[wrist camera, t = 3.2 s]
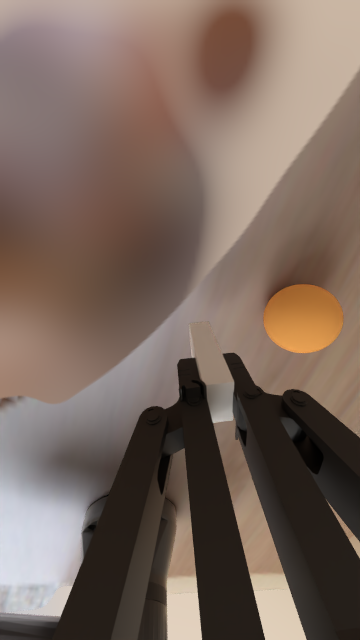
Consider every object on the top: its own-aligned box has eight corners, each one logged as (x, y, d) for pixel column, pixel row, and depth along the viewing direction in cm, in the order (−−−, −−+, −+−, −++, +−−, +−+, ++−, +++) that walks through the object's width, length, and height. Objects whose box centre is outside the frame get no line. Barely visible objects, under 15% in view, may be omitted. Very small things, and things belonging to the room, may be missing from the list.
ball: (251, 335, 22) (280, 371, 17) (255, 280, 20) (290, 302, 14) (306, 329, 22) (352, 362, 17) (316, 273, 20) (374, 292, 14)
